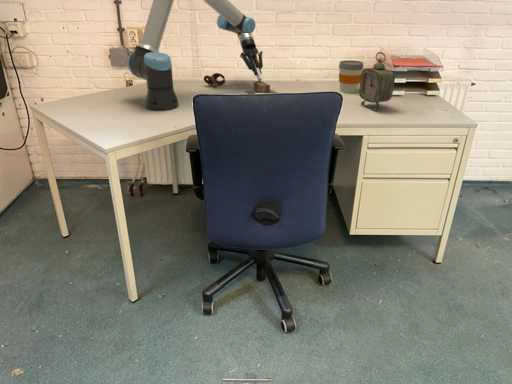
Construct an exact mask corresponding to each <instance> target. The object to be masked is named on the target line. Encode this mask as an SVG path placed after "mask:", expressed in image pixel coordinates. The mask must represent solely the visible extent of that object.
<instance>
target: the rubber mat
mask: <svg viewBox="0 0 512 384" xmlns="http://www.w3.org/2000/svg"><path fill="white" fill-rule="evenodd" d="M244 92H245V93H247V94H248V95H250V94H255V93H258V92H256V91H254V90H253V89H250V90H245V91H244ZM270 93H278V92H277V91H276V90H275V91H274V90H272V89H271V88H270Z"/></svg>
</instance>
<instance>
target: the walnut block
mask: <svg viewBox="0 0 512 384" xmlns="http://www.w3.org/2000/svg"><path fill="white" fill-rule="evenodd" d="M252 85H253V86H252V87H253V88H252V90H254V91H256V92H258V93H270V89H271V85H270V84H269V83H267V82H264V81H263V80H261V81H258V80H257V81H256V80H255V81H253V82H252Z"/></svg>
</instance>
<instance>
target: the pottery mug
mask: <svg viewBox="0 0 512 384" xmlns="http://www.w3.org/2000/svg"><path fill="white" fill-rule="evenodd" d="M220 77H221V79H222V80H218V78H220ZM203 81H204V82H205V83H206V84H207V85H208V86H210V85H213V88H214V89H217V88H219V87H221V86H223V85H225V83H226V78H225V76H224V75H223V74H222V73H218V72H214V73H212V75H209V74H208V75H204V77H203Z"/></svg>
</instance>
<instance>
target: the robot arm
mask: <svg viewBox="0 0 512 384" xmlns="http://www.w3.org/2000/svg"><path fill="white" fill-rule="evenodd" d="M174 1H175V0H152V4H151V6H150V10H149V13H148V17H147V20H146V24H145V27H144V31H143V34H142V37H141V41H140V42H139V43H138V44H136V45H135V49H134V51H132V52H131V53H130V54H129V55H128V57H127V61H126V62H127V63H126V64H127V65H126V66H127V68H128V70H129V72H130V73H131V74H132V75H133V76H134V77H136V78H138V79H142V80H145V81H146V86H147V93H146V97H145V103H144V104H145V108H146V109H148V110H150V111H168V110H173V109H176V108H178V107H179V106H180V105H179V99H178V96H177V94H176V92H175V90H174V80H173V67H172V66H173V64H172V59H171V57H170V55H169V54H167V53H164V52H160V50H159V49H160V47H161V44H162V40H163V36H164V34H165V30H166V26H167V23H168V20H169V18H170V14H171V12H172V11H171V10H172V7H173V4H174ZM202 1H203V2H204V3H205V4H207V5H208V6H209V7H210V8H212V9H213V10H214V11H215V12H217V14H218V17H217V19H216V25H217V28H219V29H221V30H222V31H228V32H231V33H234V34H236V35H237V37H238V41H239V43H240V46H241V49H242V52H240V55H239V56H240V58H241V59H242V61H243V62H244V64H245V65H246V67H247V68H248V70H249V71H252V72H253V74H254V75H255V76H256V79H257V81H263V76H262V68H263V66H264V64H263V63H264V62H263V51H262V50H260V51H259V49H258V48H257V46H256V42H255V39H254V36H253V34H252V33H253V32H254V31H255V29H256V21H255V19H254V18H253V17H249V16H246V15H245V14H244V13H243V12H241V10H239V9H238V8H237V7H236V6H235V5H234V4H233V3H232V2H231V1H229V0H202Z"/></svg>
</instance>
